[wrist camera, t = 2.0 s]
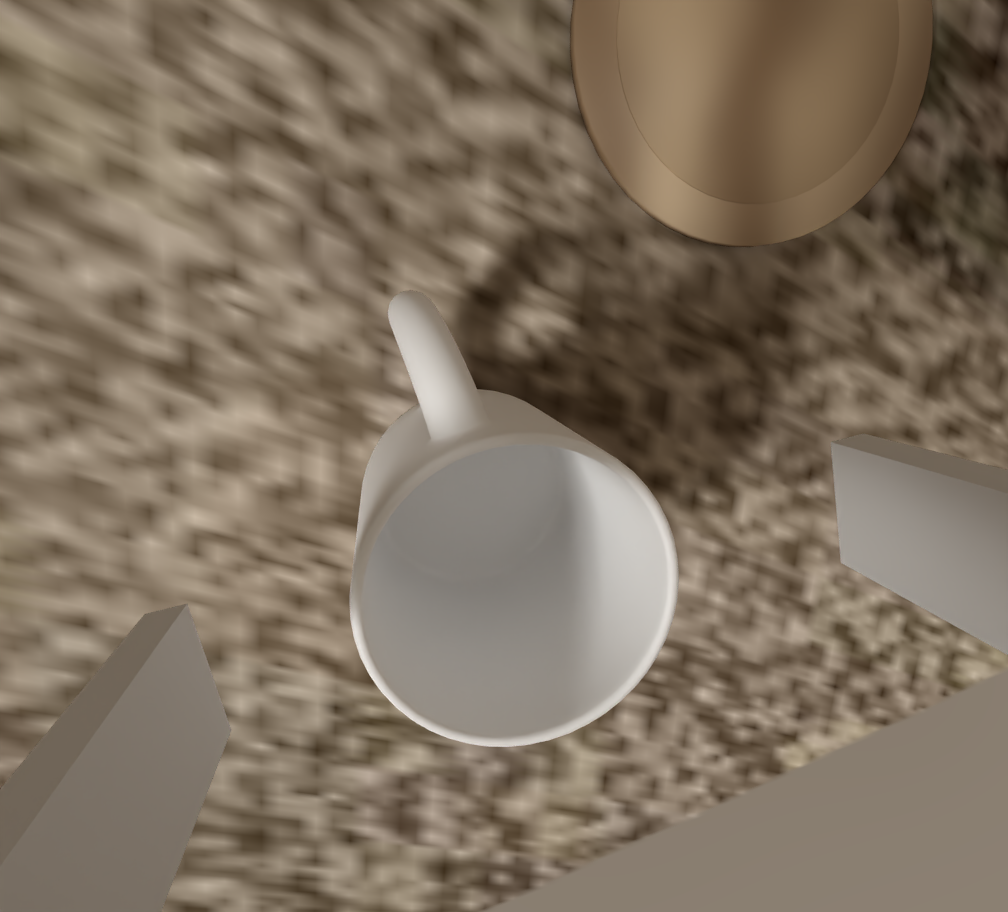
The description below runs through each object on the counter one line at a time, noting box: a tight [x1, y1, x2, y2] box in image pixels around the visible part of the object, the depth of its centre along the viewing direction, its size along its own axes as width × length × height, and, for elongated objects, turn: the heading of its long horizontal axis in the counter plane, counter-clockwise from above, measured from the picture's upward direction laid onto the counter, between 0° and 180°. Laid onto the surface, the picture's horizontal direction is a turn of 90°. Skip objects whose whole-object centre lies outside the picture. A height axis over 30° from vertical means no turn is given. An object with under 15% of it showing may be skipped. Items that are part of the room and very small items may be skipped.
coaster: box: [570, 0, 933, 247], centre depth 24 cm, size 14×14×1 cm
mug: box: [350, 290, 679, 747], centre depth 21 cm, size 12×8×10 cm
